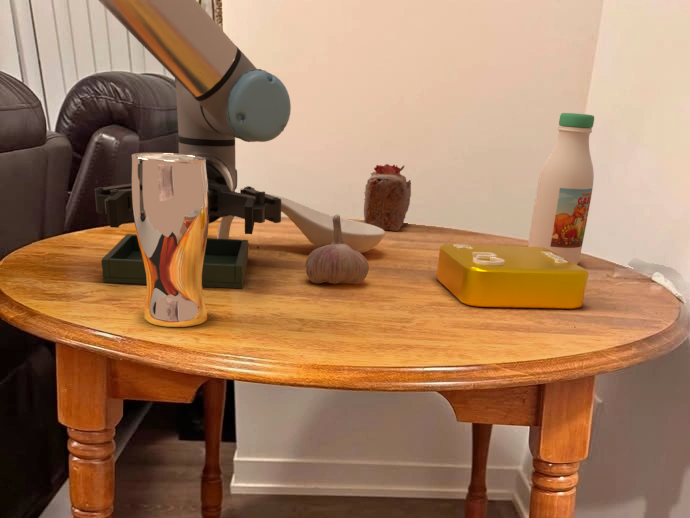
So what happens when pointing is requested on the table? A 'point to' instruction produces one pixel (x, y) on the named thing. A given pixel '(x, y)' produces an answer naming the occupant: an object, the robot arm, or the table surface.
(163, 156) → the beer glass
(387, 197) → the food item
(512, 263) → the element tile
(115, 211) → the robot arm
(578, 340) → the table surface
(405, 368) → the table surface
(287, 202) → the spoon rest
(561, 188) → the milk bottle
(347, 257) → the garlic bulb
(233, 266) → the serving tray
